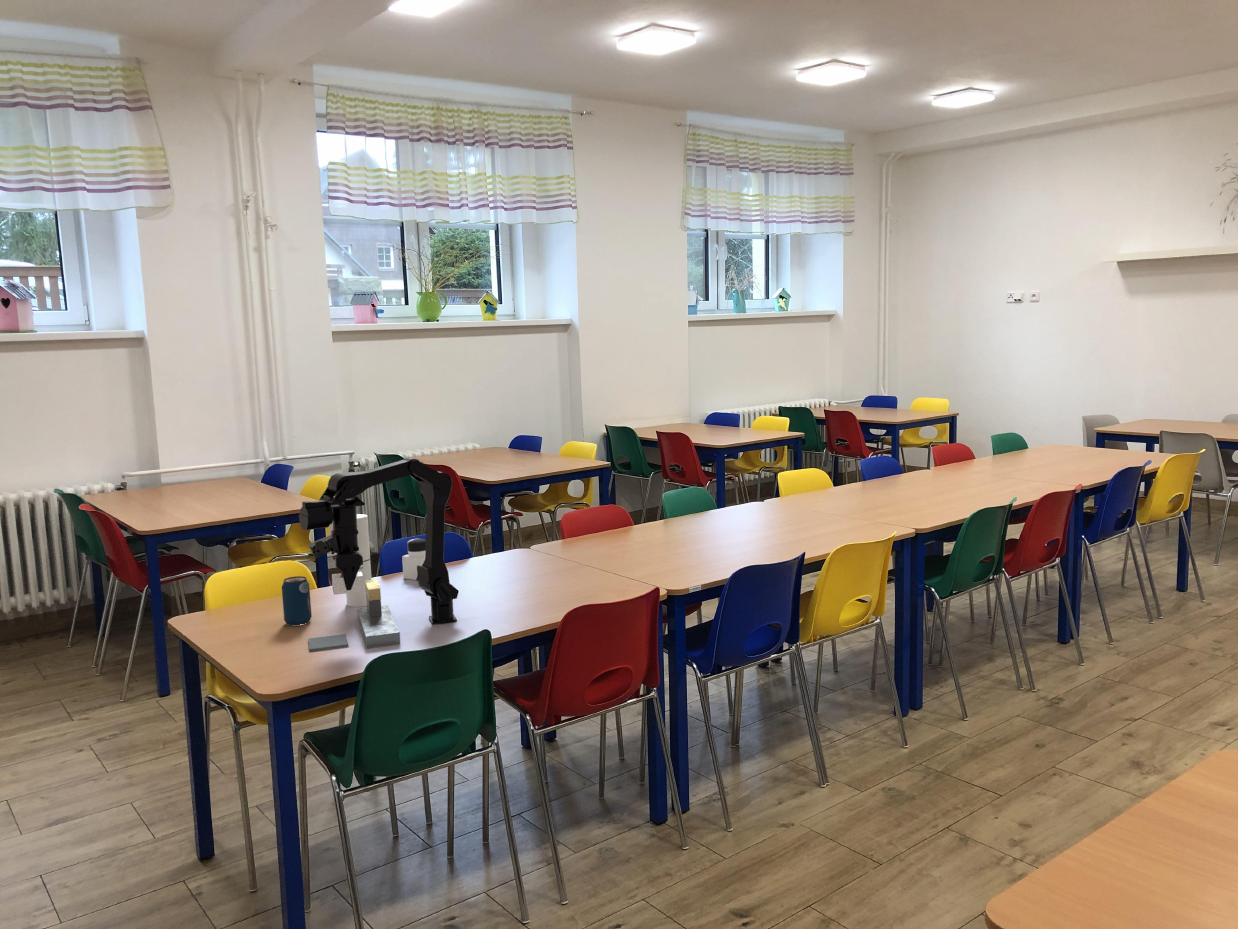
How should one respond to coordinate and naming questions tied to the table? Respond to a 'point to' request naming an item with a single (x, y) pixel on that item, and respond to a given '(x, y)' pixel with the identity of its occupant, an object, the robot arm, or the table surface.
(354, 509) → the robot arm
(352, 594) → the cylindrical container
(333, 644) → the mat
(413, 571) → the medicine bottle
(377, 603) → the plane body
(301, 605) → the soda can
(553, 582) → the table surface
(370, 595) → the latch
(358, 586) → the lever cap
